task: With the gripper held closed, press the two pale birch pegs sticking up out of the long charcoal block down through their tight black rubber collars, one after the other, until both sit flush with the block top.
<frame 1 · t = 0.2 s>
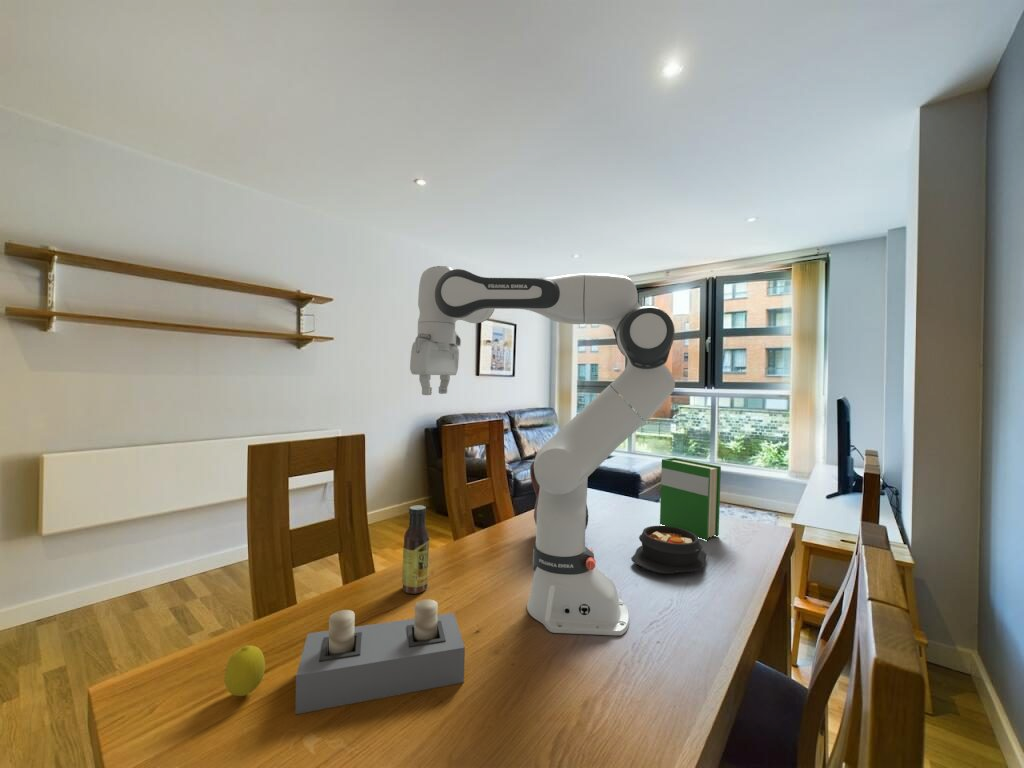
hand: (435, 394, 102), 48 cm above the table, fingers open, 8 cm apart
ceramic pitcher: (555, 538, 140), on the table
casserole: (669, 563, 123), on the table
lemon: (244, 696, 69), on the table
hardback book: (688, 532, 149), on the table
peg inner: (425, 621, 76), point 8 cm above the table, slide at 5.0 cm
peg outer: (341, 633, 72), point 8 cm above the table, slide at 5.0 cm
peg block: (384, 674, 74), on the table
sauce bottle: (415, 589, 104), on the table
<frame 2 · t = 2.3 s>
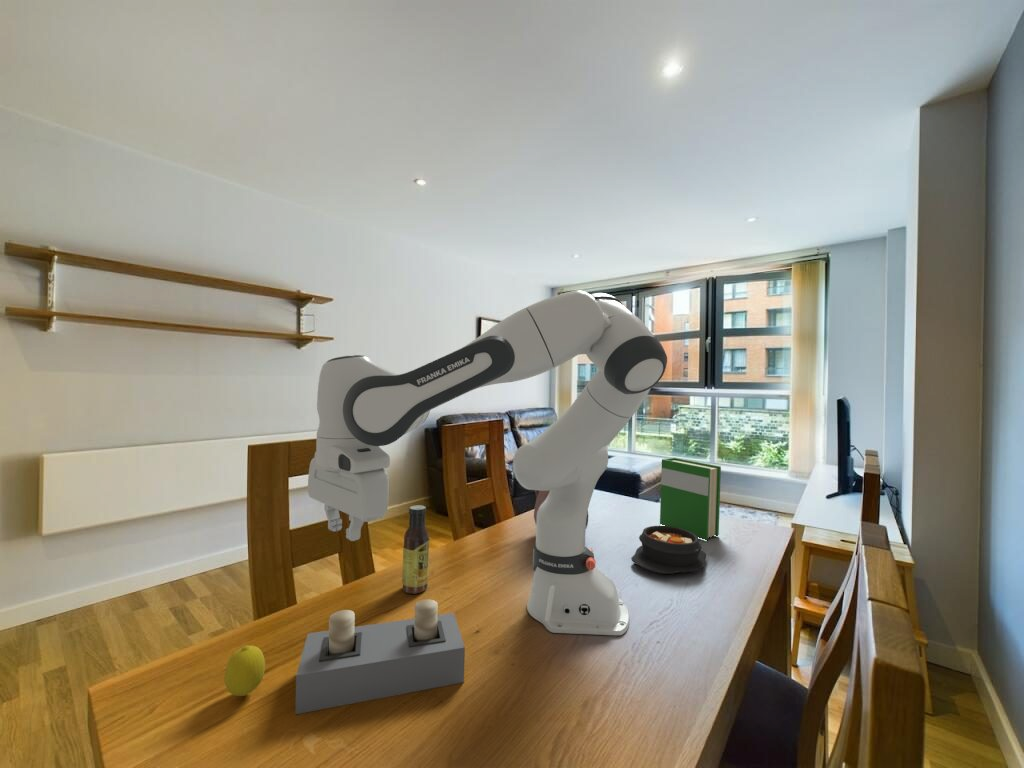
hand: (343, 534, 72), 25 cm above the table, fingers open, 5 cm apart
nothing on the table moved.
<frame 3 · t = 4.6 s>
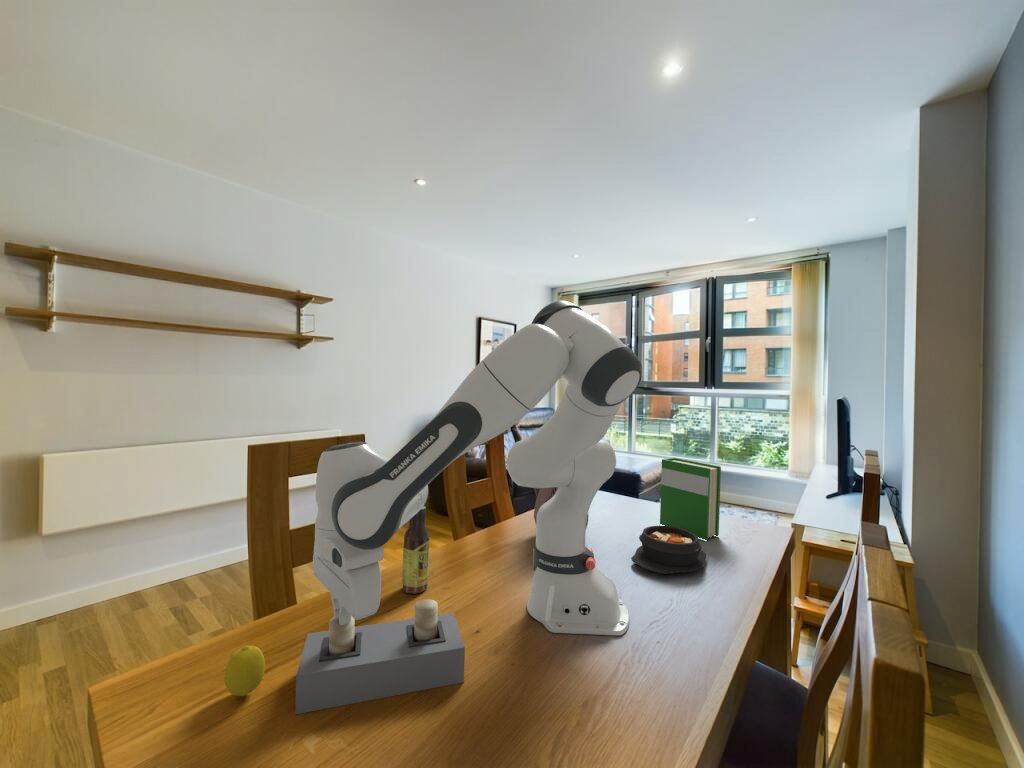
hand: (342, 620, 72), 11 cm above the table, fingers closed, pressing on peg outer
peg outer: (341, 637, 72), point 8 cm above the table, slide at 4.4 cm, touching gripper
everything else where it was.
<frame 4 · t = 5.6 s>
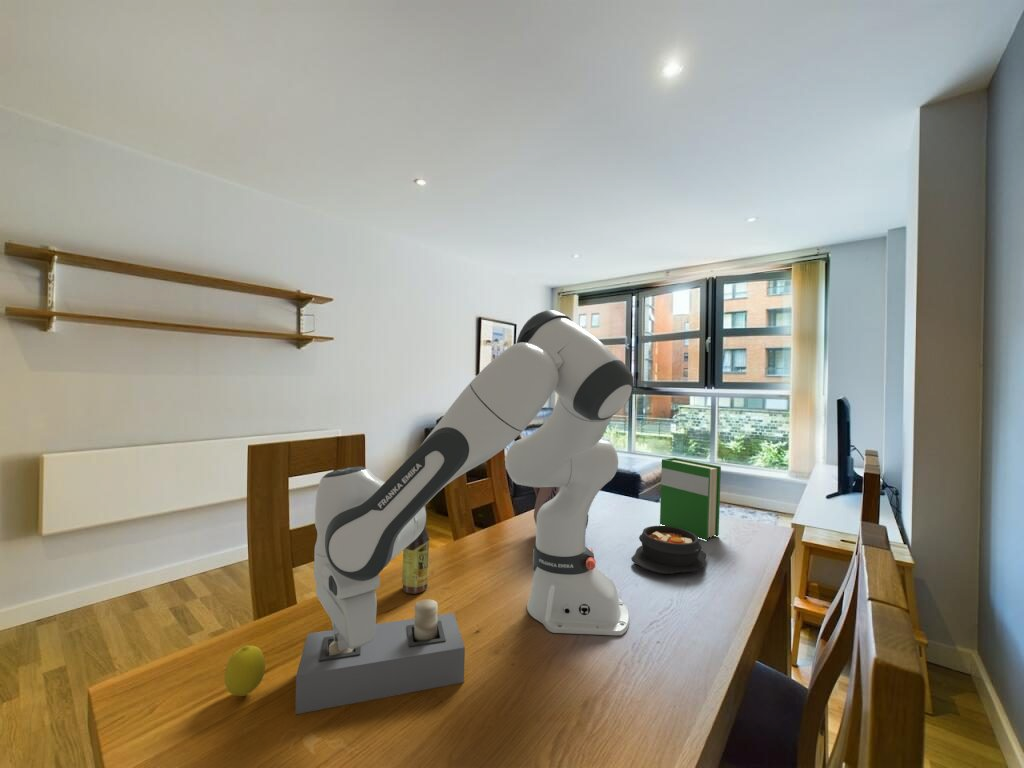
hand: (341, 645, 72), 6 cm above the table, fingers closed, pressing on peg outer
peg outer: (341, 662, 72), point 3 cm above the table, slide at 0.1 cm, touching gripper
everything else where it was.
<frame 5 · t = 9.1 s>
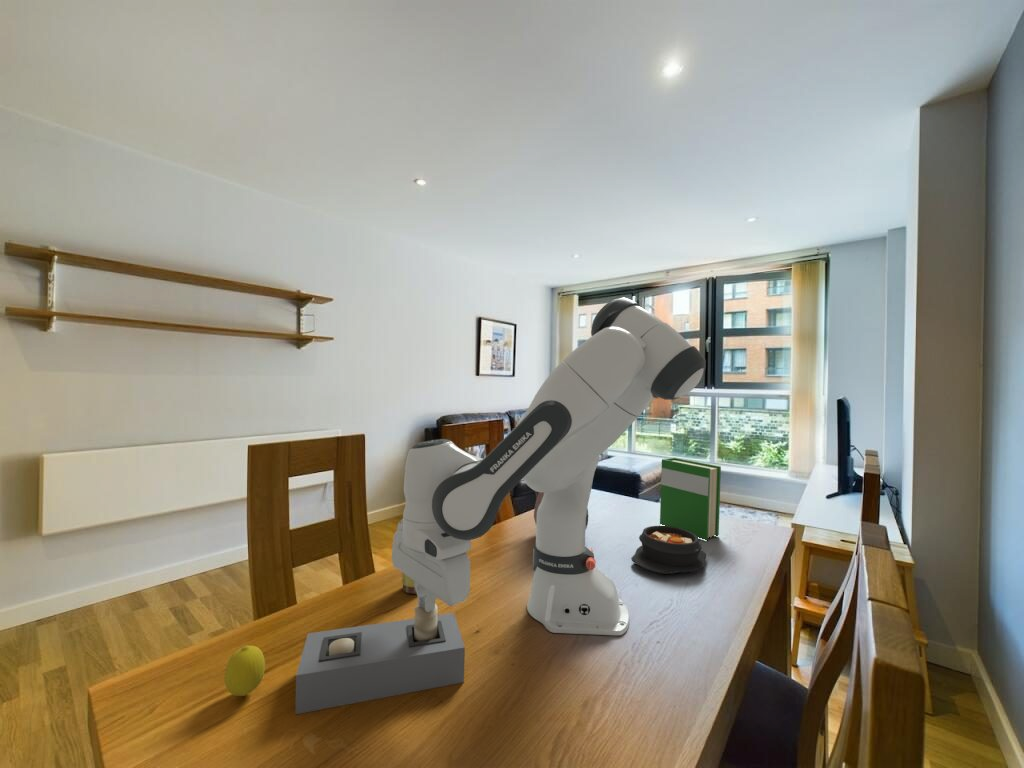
hand: (426, 608, 76), 11 cm above the table, fingers closed, pressing on peg inner
peg inner: (425, 624, 76), point 8 cm above the table, slide at 4.5 cm, touching gripper
peg outer: (341, 662, 72), point 3 cm above the table, slide at 0.1 cm
everything else where it was.
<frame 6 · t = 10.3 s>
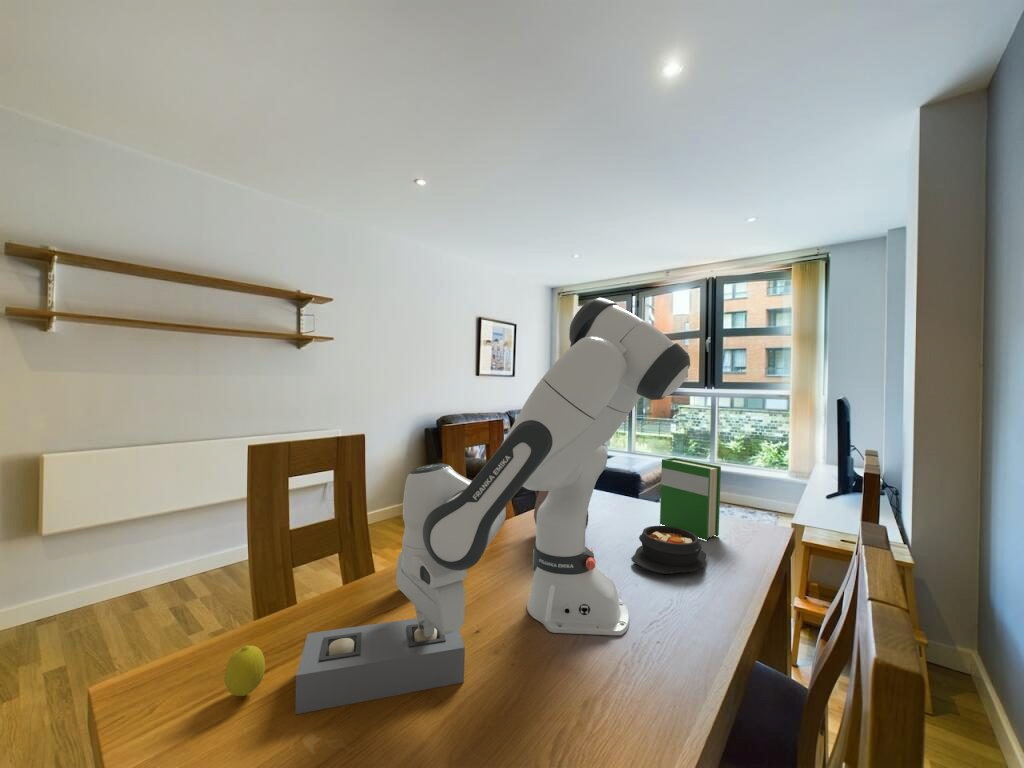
hand: (425, 632, 76), 6 cm above the table, fingers closed, pressing on peg inner
peg inner: (425, 648, 76), point 3 cm above the table, slide at 0.1 cm, touching gripper
everything else where it was.
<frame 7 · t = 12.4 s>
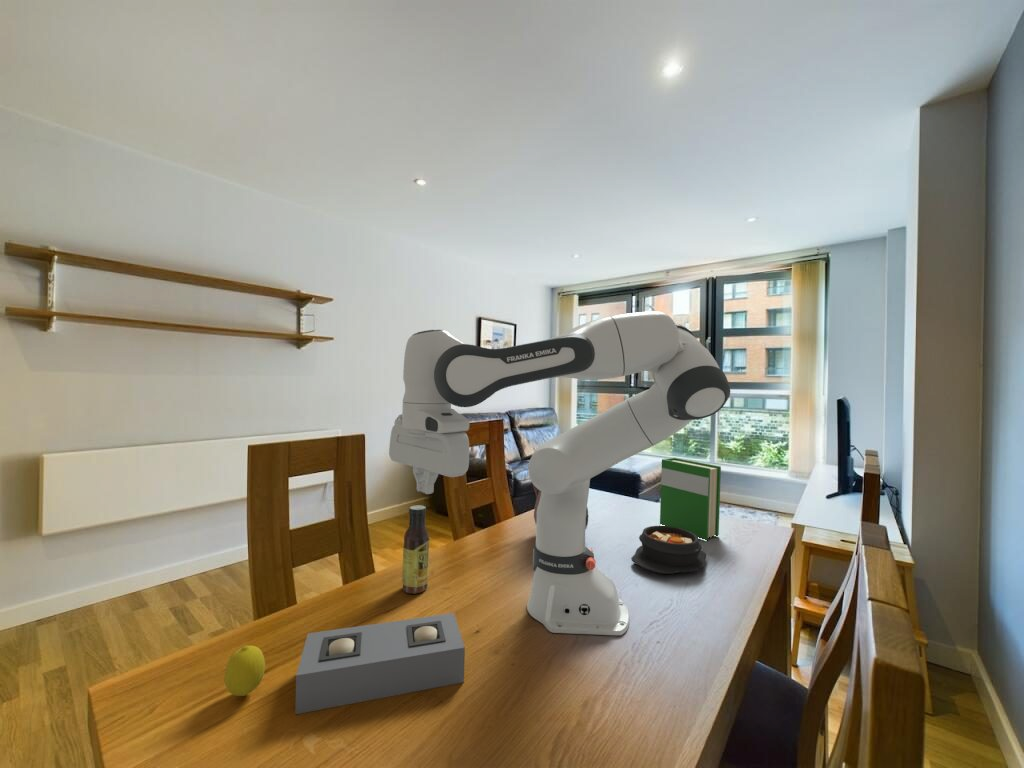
hand: (425, 492, 79), 30 cm above the table, fingers closed
peg inner: (425, 648, 76), point 3 cm above the table, slide at 0.1 cm
everything else where it was.
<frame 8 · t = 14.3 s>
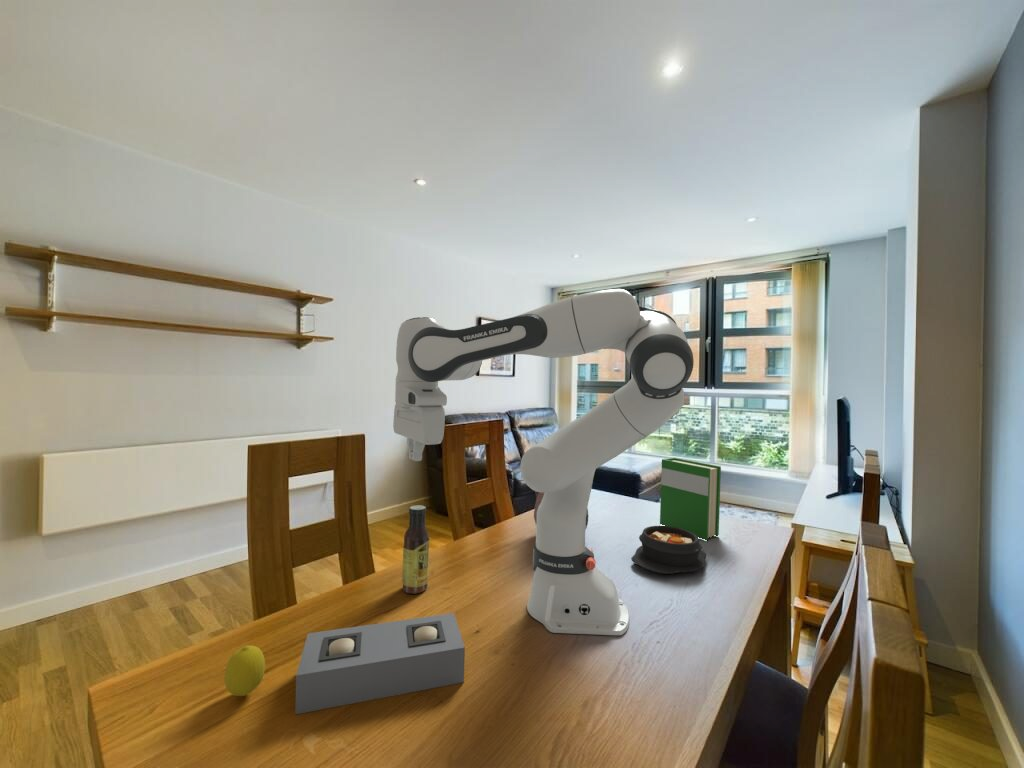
hand: (415, 459, 91), 34 cm above the table, fingers closed
nothing on the table moved.
at the end: peg outer slide at 0.1 cm; peg inner slide at 0.1 cm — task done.
